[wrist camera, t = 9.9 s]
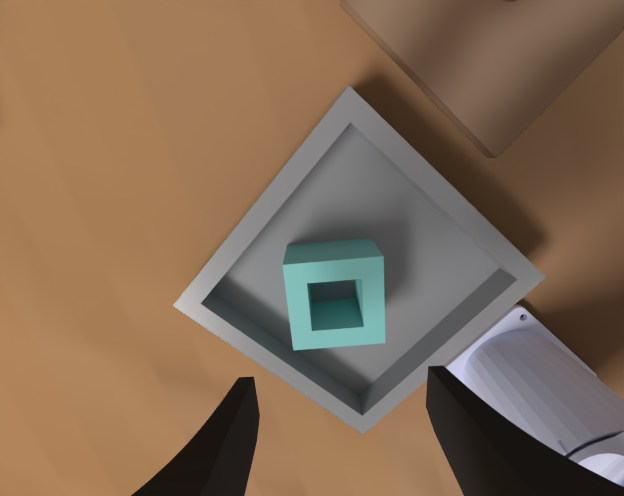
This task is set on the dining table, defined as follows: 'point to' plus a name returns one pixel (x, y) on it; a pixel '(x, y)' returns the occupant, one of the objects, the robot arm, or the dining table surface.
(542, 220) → the dining table surface
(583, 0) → the stake board
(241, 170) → the dining table surface
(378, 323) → the collar
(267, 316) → the tray
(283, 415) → the dining table surface
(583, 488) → the robot arm
